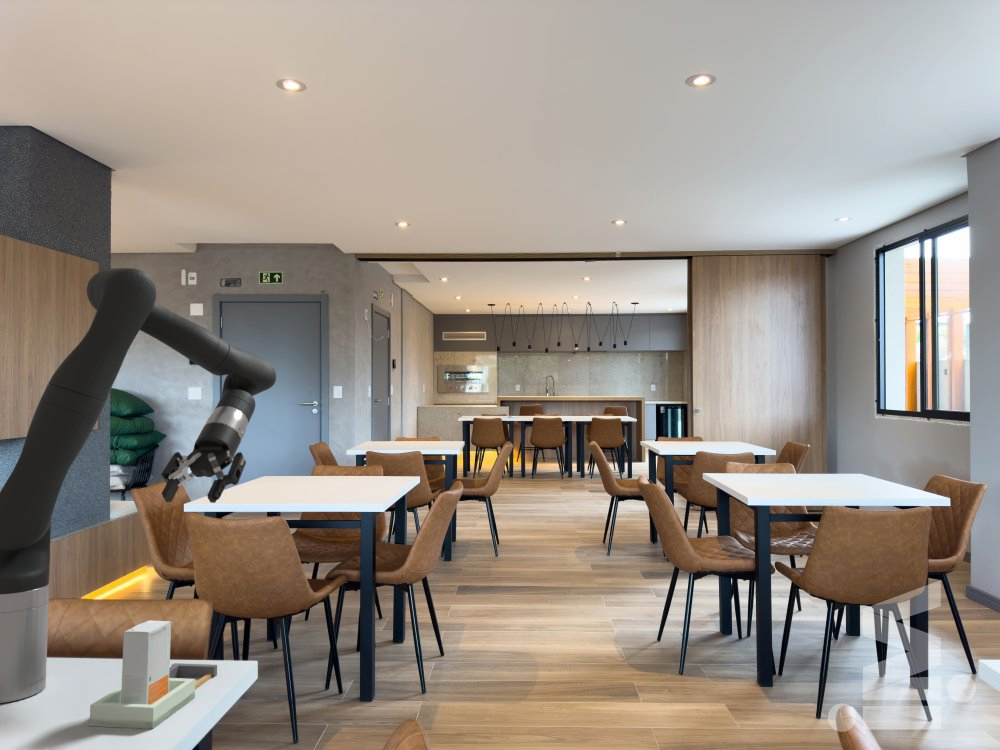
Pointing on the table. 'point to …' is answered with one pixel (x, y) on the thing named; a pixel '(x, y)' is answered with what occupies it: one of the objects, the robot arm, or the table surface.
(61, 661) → the table surface
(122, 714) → the parts tray
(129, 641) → the skincare box
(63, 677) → the table surface
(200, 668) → the grey shallow square tray
